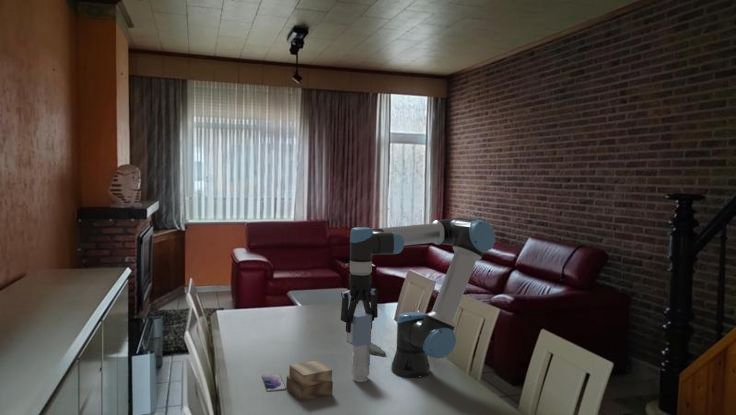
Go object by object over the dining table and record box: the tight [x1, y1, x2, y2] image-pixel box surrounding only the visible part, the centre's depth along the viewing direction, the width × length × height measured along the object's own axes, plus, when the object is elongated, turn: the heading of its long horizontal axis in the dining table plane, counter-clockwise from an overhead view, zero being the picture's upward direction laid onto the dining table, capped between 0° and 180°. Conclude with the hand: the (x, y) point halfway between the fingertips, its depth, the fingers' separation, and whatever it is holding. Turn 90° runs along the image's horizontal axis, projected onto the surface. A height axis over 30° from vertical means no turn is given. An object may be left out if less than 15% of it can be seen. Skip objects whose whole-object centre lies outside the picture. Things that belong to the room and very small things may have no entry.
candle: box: [351, 344, 371, 383], centre depth 198 cm, size 7×7×15 cm
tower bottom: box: [285, 375, 334, 402], centre depth 185 cm, size 12×12×5 cm
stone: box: [369, 341, 387, 357], centre depth 231 cm, size 17×3×10 cm
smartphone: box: [261, 373, 287, 393], centre depth 192 cm, size 7×1×15 cm
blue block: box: [346, 310, 372, 347], centre depth 180 cm, size 6×6×10 cm
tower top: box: [288, 359, 333, 387], centre depth 185 cm, size 11×11×4 cm
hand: (358, 340), depth 181 cm, fingers closed on blue block, 6 cm apart
